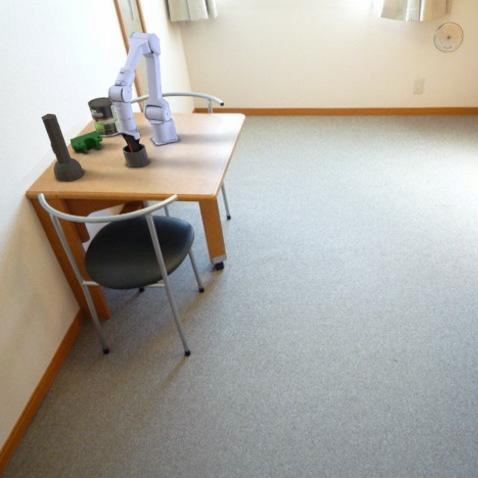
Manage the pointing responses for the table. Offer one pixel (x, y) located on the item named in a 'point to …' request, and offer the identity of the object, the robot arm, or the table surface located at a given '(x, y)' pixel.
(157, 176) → the table surface
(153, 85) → the robot arm
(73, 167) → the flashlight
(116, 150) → the table surface
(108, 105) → the coffee can
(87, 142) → the green notched block
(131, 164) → the cup
